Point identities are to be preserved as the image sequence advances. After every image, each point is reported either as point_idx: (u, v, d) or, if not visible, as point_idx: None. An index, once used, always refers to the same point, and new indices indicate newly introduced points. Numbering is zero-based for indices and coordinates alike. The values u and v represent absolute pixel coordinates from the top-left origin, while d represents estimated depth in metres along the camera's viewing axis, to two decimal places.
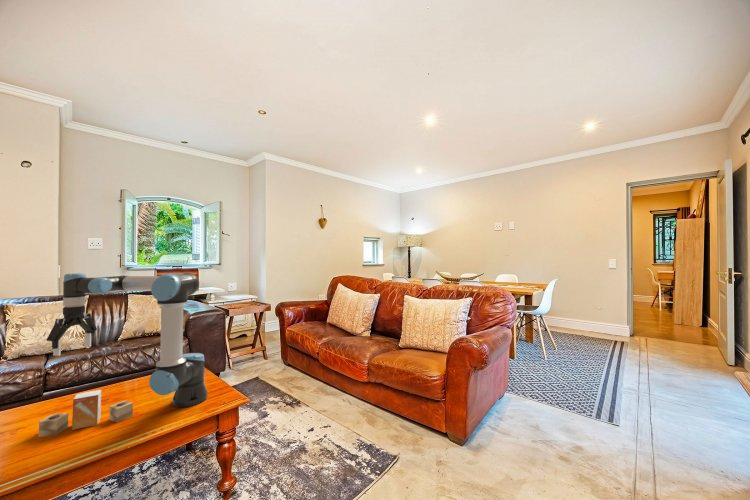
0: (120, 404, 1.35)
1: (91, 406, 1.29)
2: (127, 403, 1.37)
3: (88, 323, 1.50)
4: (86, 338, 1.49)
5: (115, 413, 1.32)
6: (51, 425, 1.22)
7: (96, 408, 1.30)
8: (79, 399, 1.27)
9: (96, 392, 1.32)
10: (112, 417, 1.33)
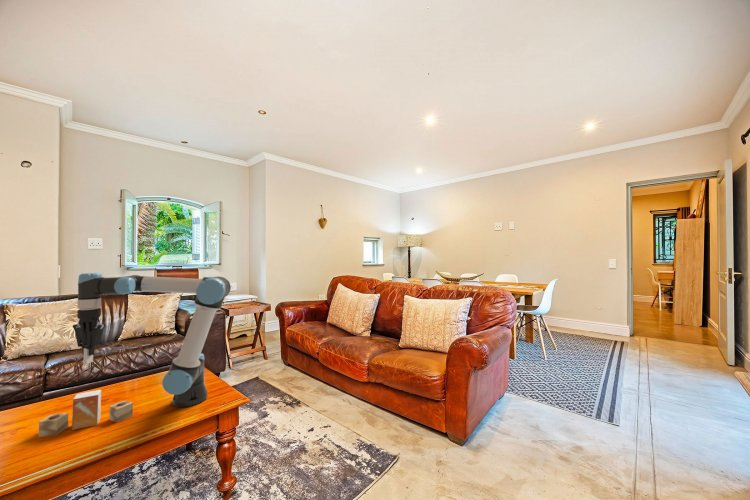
0: (120, 404, 1.35)
1: (91, 406, 1.29)
2: (127, 403, 1.37)
3: None
4: None
5: (115, 413, 1.32)
6: (51, 425, 1.22)
7: (96, 408, 1.30)
8: (79, 399, 1.27)
9: (96, 392, 1.32)
10: (112, 417, 1.33)
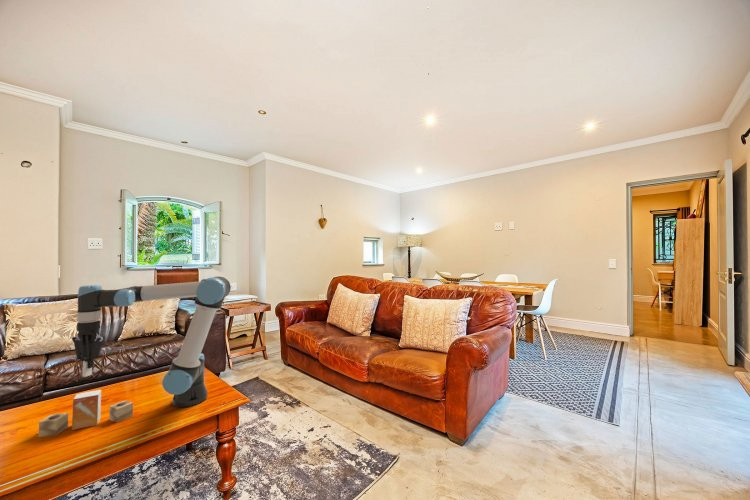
0: (120, 404, 1.35)
1: (91, 406, 1.29)
2: (127, 403, 1.37)
3: None
4: None
5: (115, 413, 1.32)
6: (51, 425, 1.22)
7: (96, 408, 1.30)
8: (79, 399, 1.27)
9: (96, 392, 1.32)
10: (112, 417, 1.33)
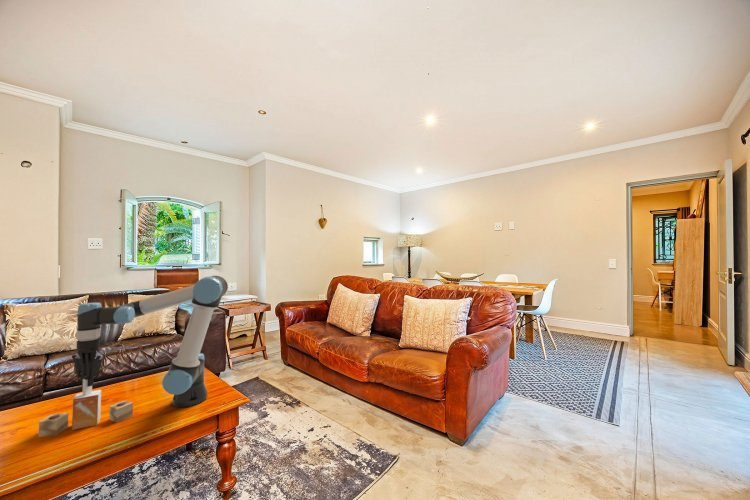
0: (120, 404, 1.35)
1: (91, 406, 1.29)
2: (127, 403, 1.37)
3: None
4: None
5: (115, 413, 1.32)
6: (51, 425, 1.22)
7: (96, 408, 1.30)
8: (79, 399, 1.27)
9: (96, 392, 1.32)
10: (112, 417, 1.33)
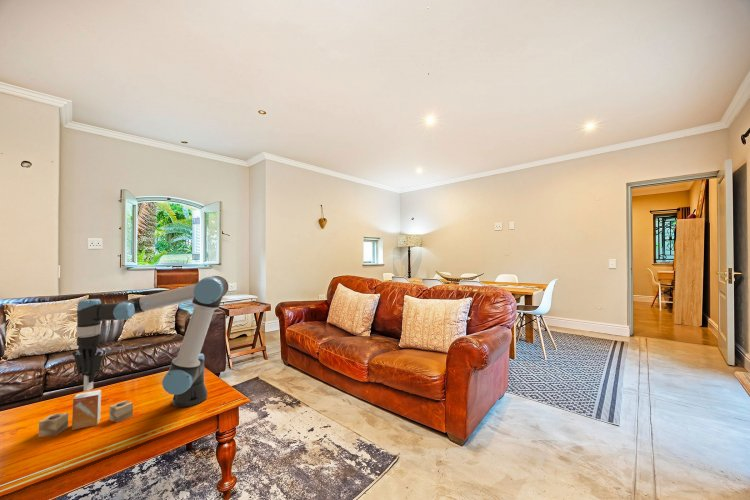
0: (120, 404, 1.35)
1: (91, 406, 1.29)
2: (127, 403, 1.37)
3: None
4: None
5: (115, 413, 1.32)
6: (51, 425, 1.22)
7: (96, 408, 1.30)
8: (79, 399, 1.27)
9: (96, 392, 1.32)
10: (112, 417, 1.33)
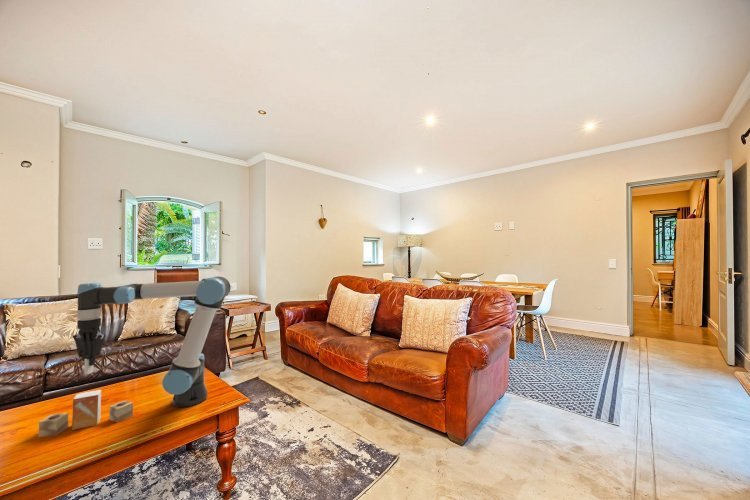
0: (120, 404, 1.35)
1: (91, 406, 1.29)
2: (127, 403, 1.37)
3: None
4: None
5: (115, 413, 1.32)
6: (51, 425, 1.22)
7: (96, 408, 1.30)
8: (79, 399, 1.27)
9: (96, 392, 1.32)
10: (112, 417, 1.33)
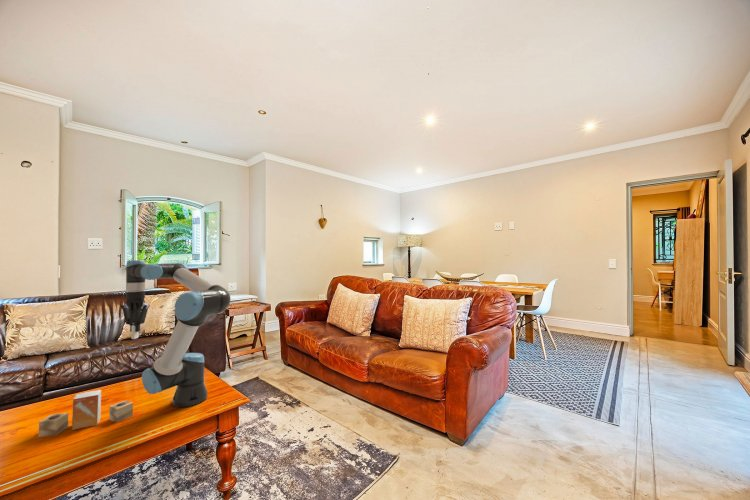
0: (120, 404, 1.35)
1: (91, 406, 1.29)
2: (127, 403, 1.37)
3: None
4: None
5: (115, 413, 1.32)
6: (51, 425, 1.22)
7: (96, 408, 1.30)
8: (79, 399, 1.27)
9: (96, 392, 1.32)
10: (112, 417, 1.33)
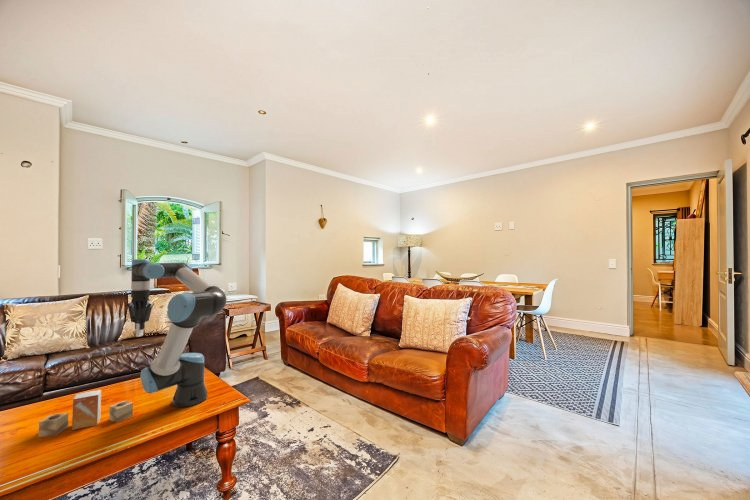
0: (120, 404, 1.35)
1: (91, 406, 1.29)
2: (127, 403, 1.37)
3: None
4: None
5: (115, 413, 1.32)
6: (51, 425, 1.22)
7: (96, 408, 1.30)
8: (79, 399, 1.27)
9: (96, 392, 1.32)
10: (112, 417, 1.33)
